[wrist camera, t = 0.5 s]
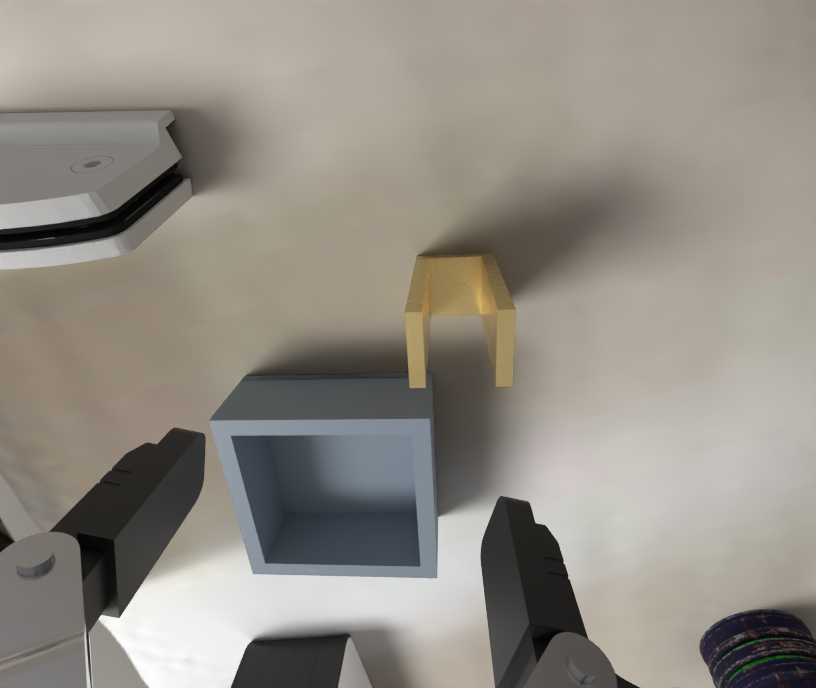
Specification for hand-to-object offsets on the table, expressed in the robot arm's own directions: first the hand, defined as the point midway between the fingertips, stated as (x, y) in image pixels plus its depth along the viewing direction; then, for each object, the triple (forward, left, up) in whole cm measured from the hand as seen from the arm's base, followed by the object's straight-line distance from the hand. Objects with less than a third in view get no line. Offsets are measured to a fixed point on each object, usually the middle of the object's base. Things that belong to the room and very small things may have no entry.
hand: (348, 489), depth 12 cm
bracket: (-3, +1, -21) cm, 21 cm away
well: (+6, +15, -21) cm, 26 cm away
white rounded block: (+22, -7, -21) cm, 31 cm away
